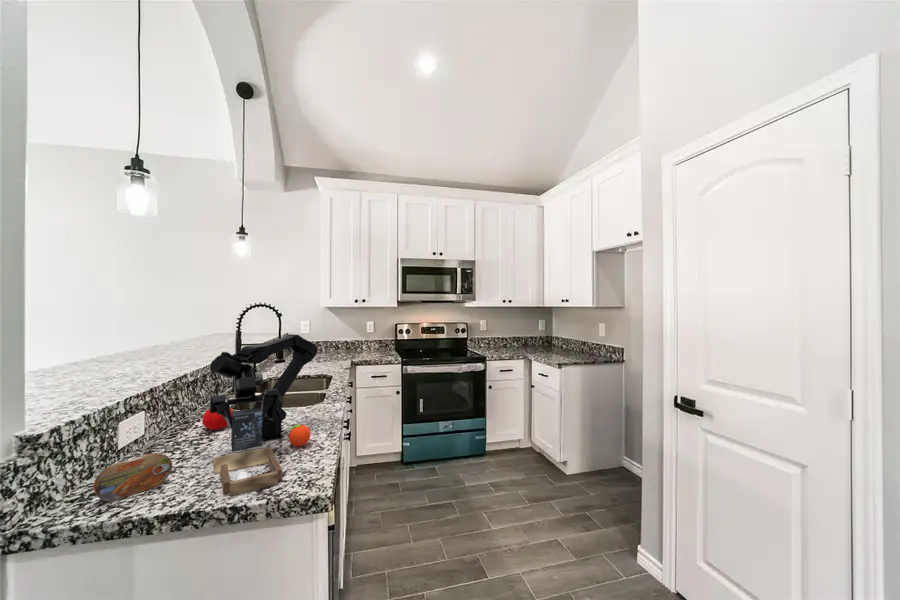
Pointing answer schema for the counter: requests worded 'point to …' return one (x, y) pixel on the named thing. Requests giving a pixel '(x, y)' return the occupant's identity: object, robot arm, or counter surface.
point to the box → (246, 429)
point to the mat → (242, 459)
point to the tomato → (214, 420)
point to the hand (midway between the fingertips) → (247, 424)
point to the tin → (132, 476)
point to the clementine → (299, 435)
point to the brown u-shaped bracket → (251, 479)
